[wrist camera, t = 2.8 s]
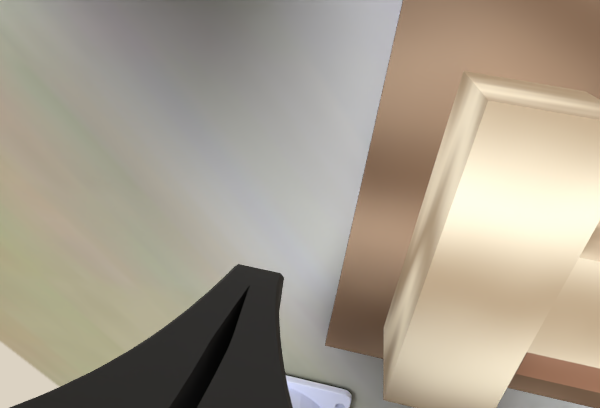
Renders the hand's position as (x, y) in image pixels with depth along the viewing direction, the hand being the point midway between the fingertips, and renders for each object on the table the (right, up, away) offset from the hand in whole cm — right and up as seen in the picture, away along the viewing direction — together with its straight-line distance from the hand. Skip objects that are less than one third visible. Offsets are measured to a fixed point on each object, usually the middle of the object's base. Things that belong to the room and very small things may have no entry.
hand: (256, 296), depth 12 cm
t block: (+12, +1, +5) cm, 13 cm away
